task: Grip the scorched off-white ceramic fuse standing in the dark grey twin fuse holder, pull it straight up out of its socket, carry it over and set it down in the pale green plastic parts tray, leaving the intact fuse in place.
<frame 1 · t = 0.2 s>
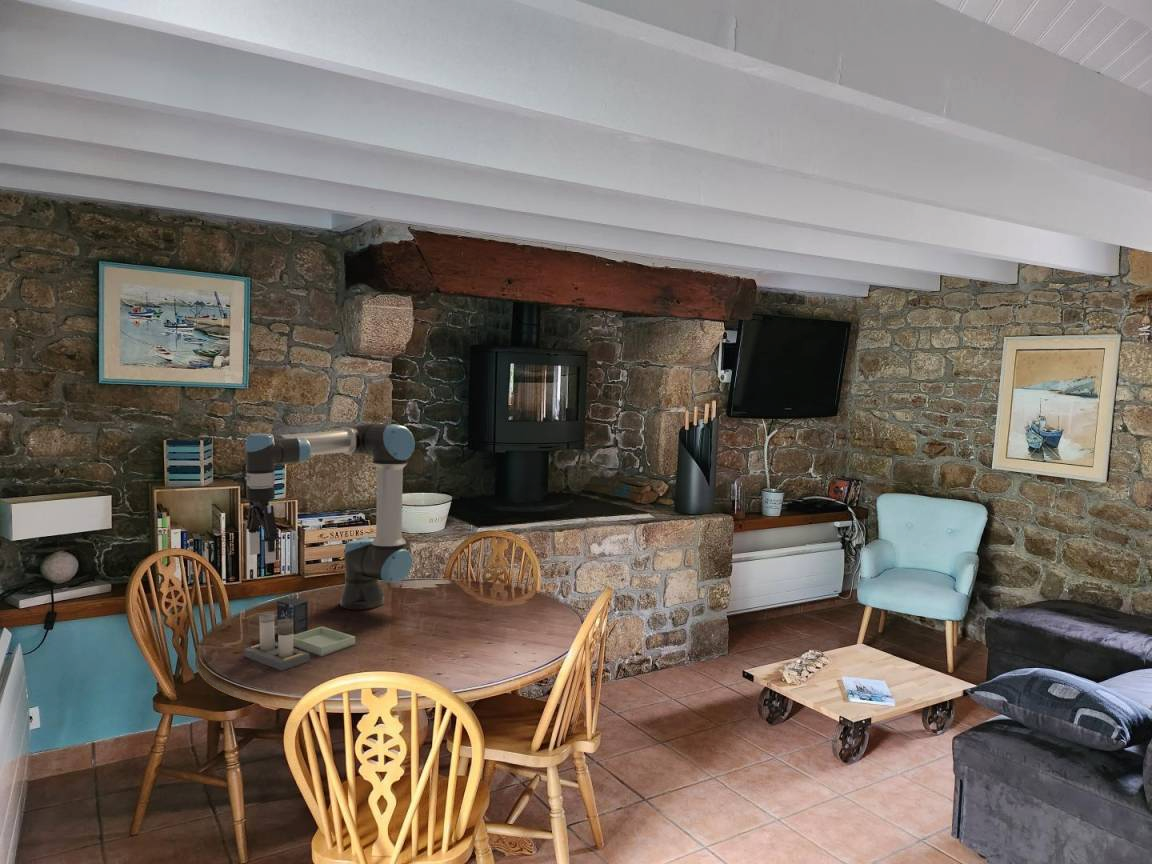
hand: (262, 558, 228), 27 cm above the table, fingers open, 13 cm apart
fuse holder: (276, 658, 222), on the table
intact fuse: (267, 655, 225), resting in fuse holder
blown fuse: (286, 662, 220), resting in fuse holder
parts tray: (321, 644, 234), on the table
box: (292, 634, 244), on the table
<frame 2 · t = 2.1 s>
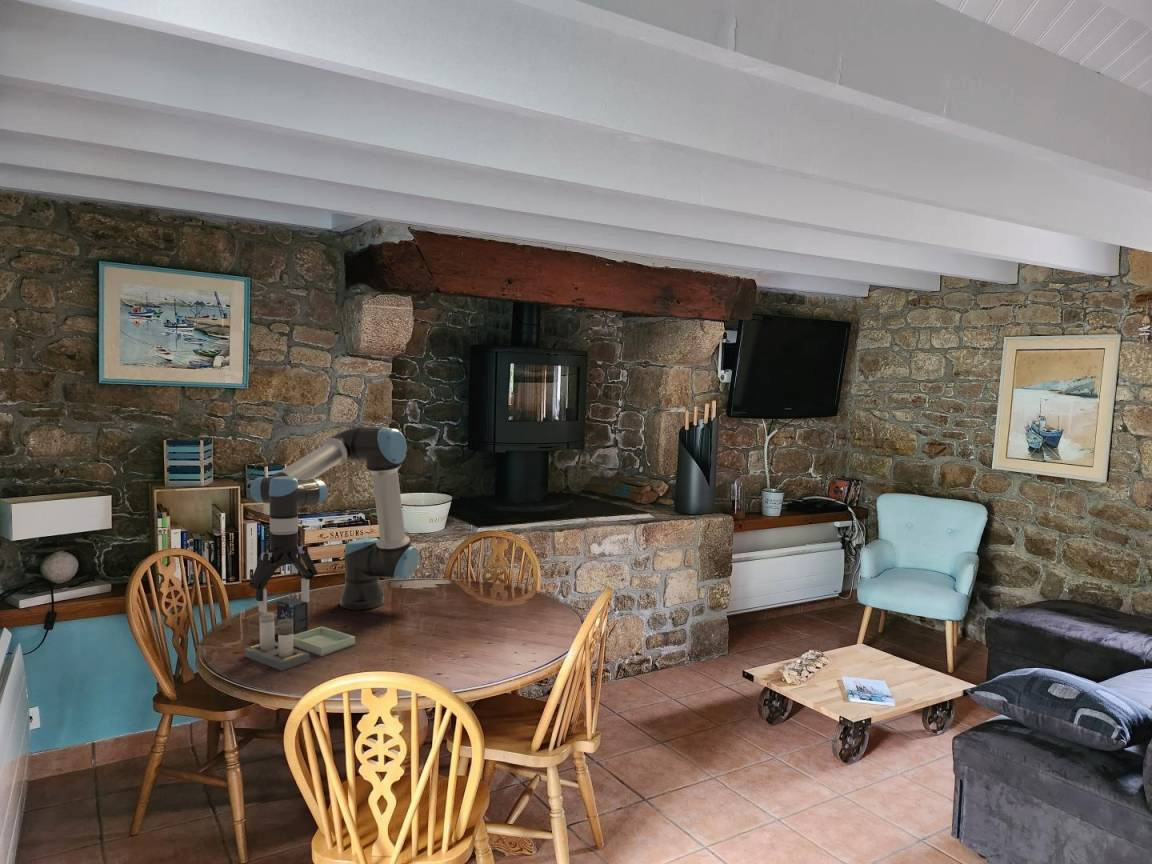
hand: (284, 606, 218), 16 cm above the table, fingers open, 13 cm apart
nothing on the table moved.
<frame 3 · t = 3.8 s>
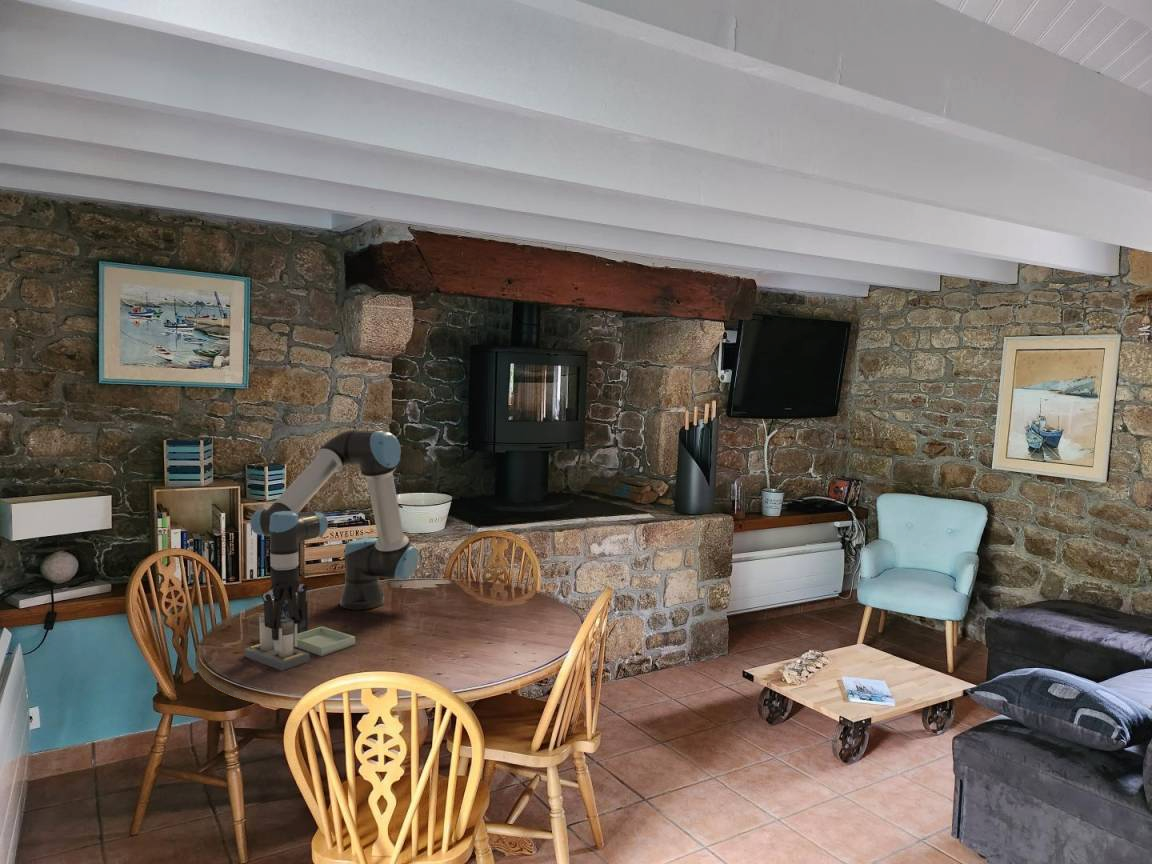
hand: (286, 647, 219), 4 cm above the table, fingers closed on blown fuse, 4 cm apart
blown fuse: (286, 662, 220), resting in fuse holder, touching gripper
everything else where it was.
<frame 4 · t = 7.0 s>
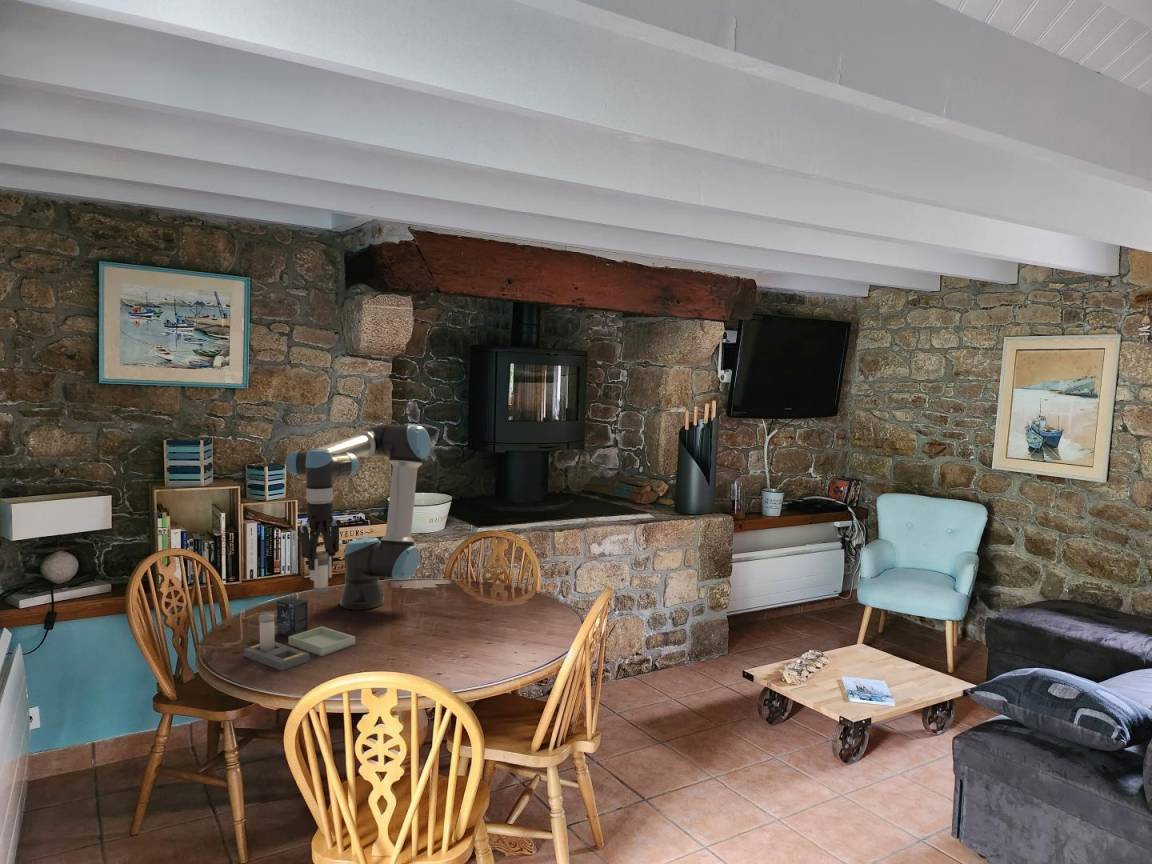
hand: (321, 578, 233), 20 cm above the table, fingers closed on blown fuse, 4 cm apart
blown fuse: (321, 591, 233), point 16 cm above the table, touching gripper
everything else where it was.
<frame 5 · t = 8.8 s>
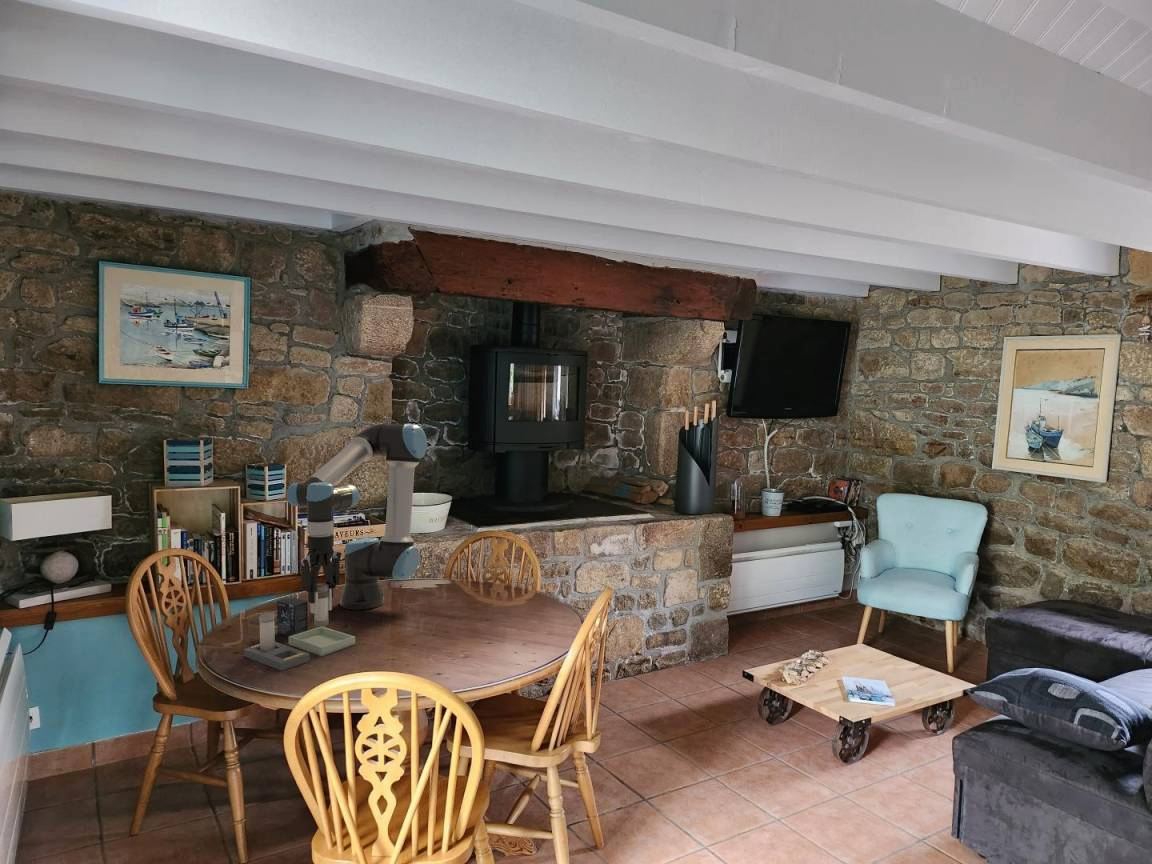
hand: (321, 611, 233), 10 cm above the table, fingers closed on blown fuse, 4 cm apart
blown fuse: (321, 624, 234), point 6 cm above the table, touching gripper
everything else where it was.
when the fingers open (5 cm above the table, at t = 10.1 s): blown fuse stays where it is, resting on parts tray.
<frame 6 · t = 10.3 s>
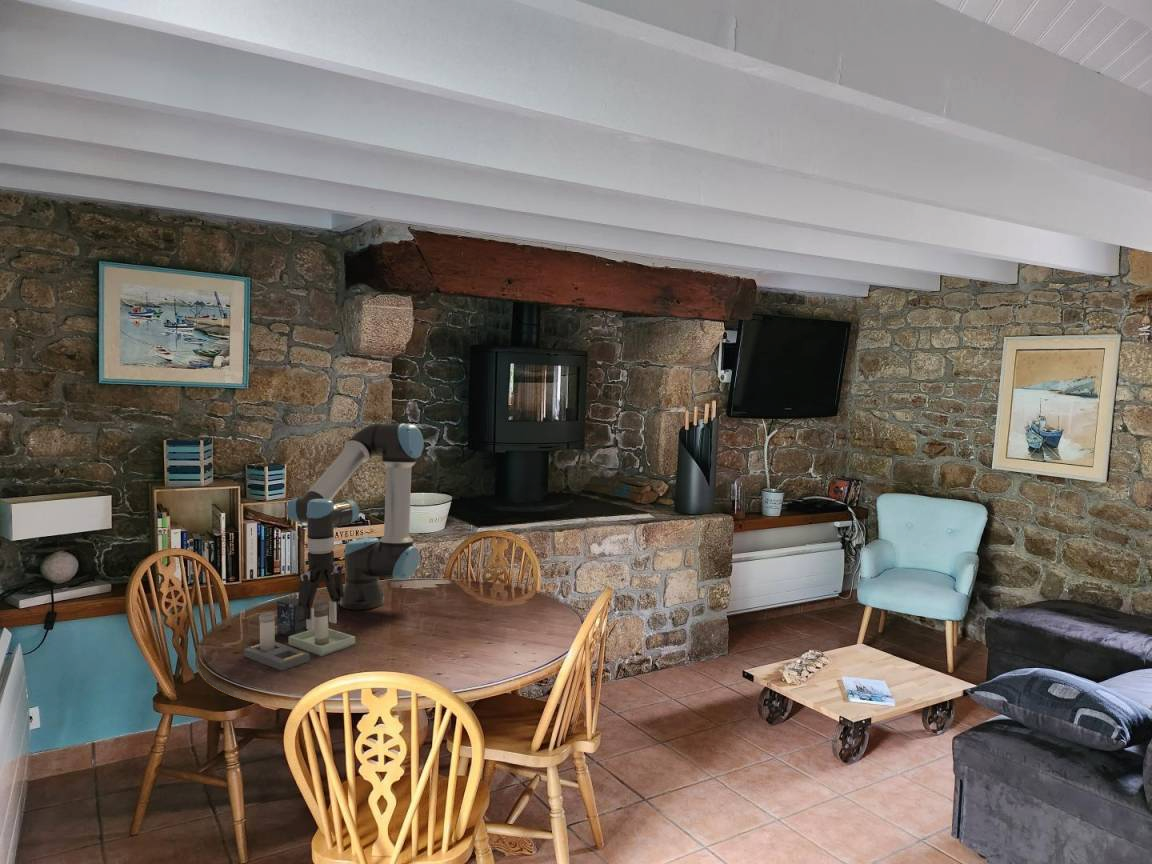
hand: (321, 625, 234), 6 cm above the table, fingers open, 7 cm apart
blown fuse: (322, 642, 234), point 1 cm above the table, touching parts tray
everything else where it was.
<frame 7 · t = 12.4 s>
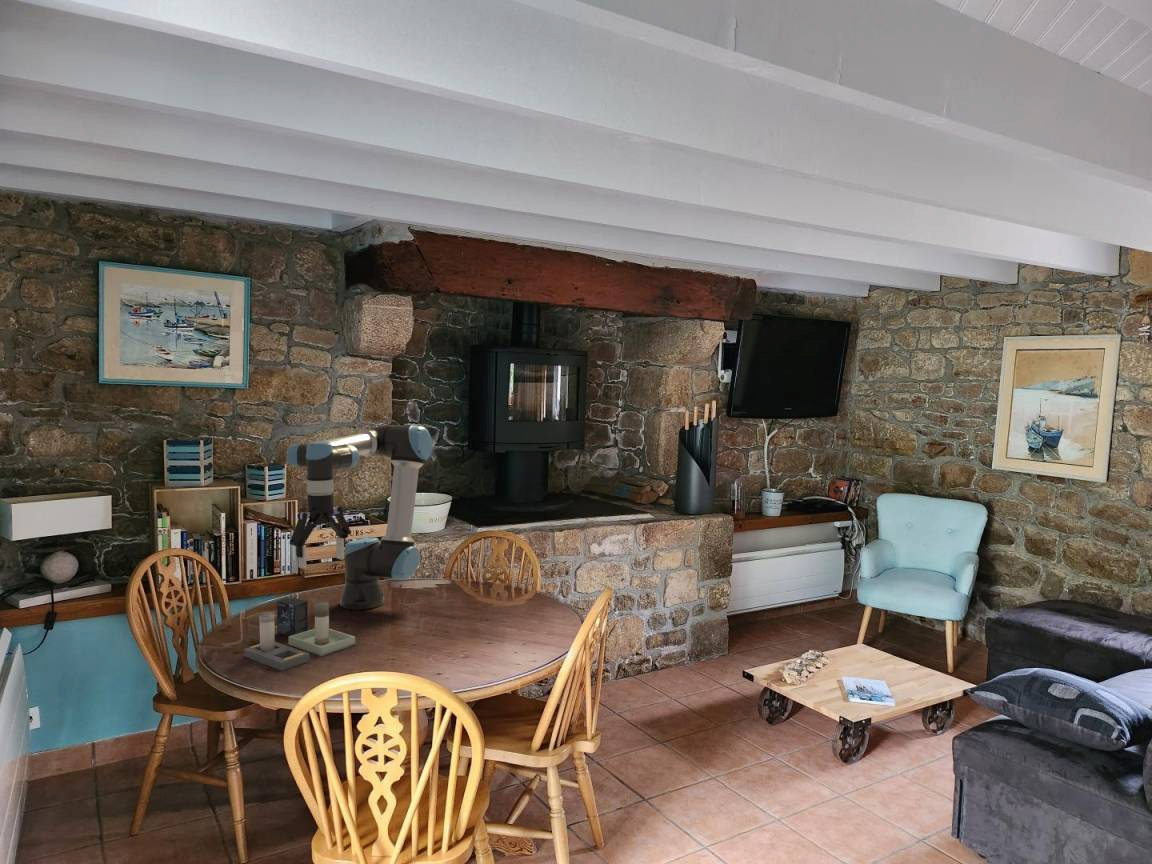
hand: (321, 563, 234), 25 cm above the table, fingers open, 13 cm apart
nothing on the table moved.
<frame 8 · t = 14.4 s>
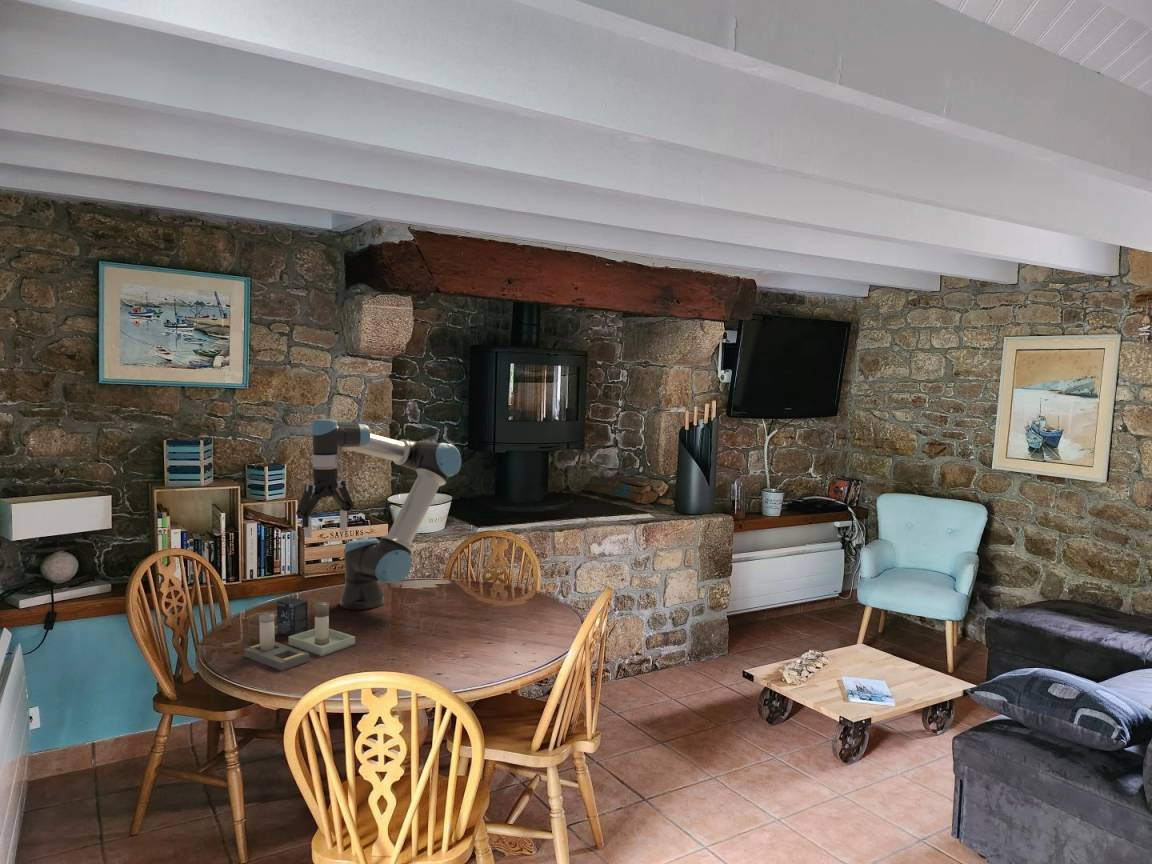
hand: (326, 533, 248), 31 cm above the table, fingers open, 13 cm apart
nothing on the table moved.
at the end: blown fuse inside the target area on the parts tray (0.0 cm from its centre), point 0.6 cm above the parts tray's base; the gripper is holding nothing; intact fuse moved 0.0 cm from its start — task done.
